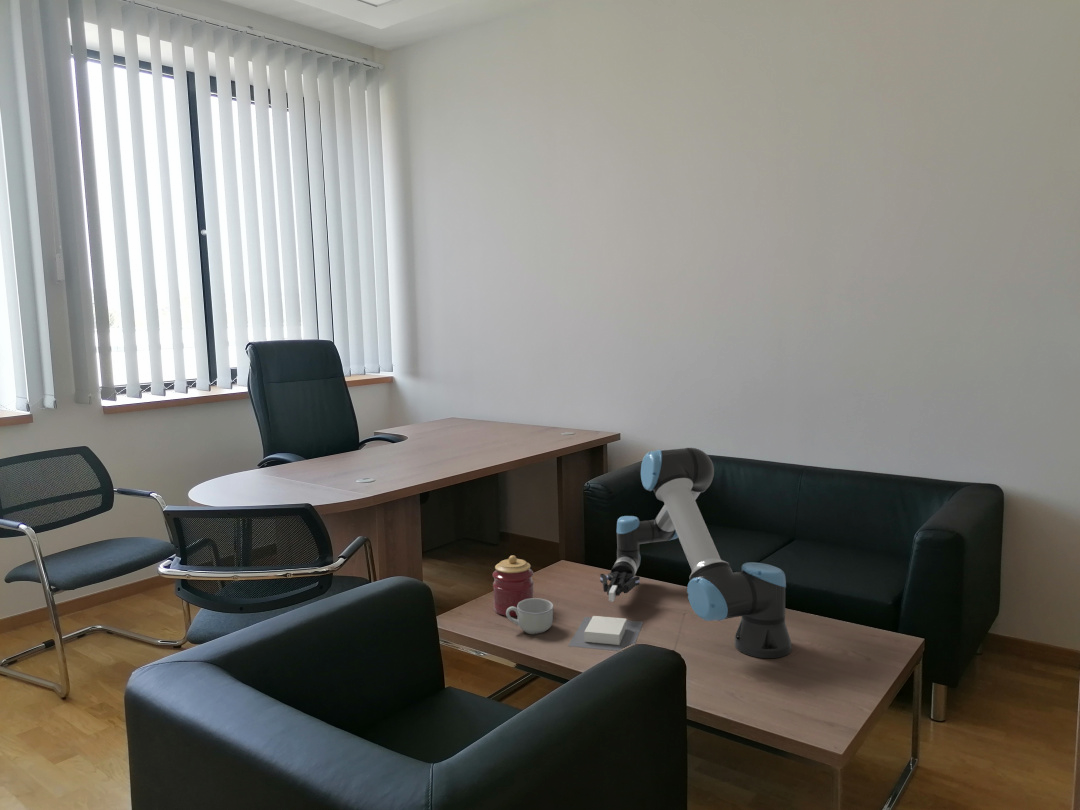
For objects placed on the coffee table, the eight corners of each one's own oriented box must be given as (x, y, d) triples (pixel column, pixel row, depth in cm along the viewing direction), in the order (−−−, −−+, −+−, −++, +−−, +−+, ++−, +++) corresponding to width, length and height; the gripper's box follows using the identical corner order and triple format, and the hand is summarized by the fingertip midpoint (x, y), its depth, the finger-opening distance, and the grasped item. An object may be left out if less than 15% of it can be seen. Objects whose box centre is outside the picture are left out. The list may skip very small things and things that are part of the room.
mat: (585, 618, 243) (585, 616, 243) (643, 623, 238) (643, 621, 238) (568, 647, 222) (568, 645, 222) (631, 653, 217) (631, 652, 217)
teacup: (555, 623, 239) (554, 598, 238) (552, 638, 229) (551, 611, 228) (509, 622, 241) (508, 597, 240) (504, 637, 230) (503, 610, 229)
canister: (525, 619, 243) (523, 563, 241) (486, 614, 248) (485, 559, 246) (540, 604, 255) (539, 551, 253) (503, 600, 260) (502, 547, 258)
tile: (593, 615, 235) (584, 631, 224) (626, 618, 232) (619, 634, 221) (593, 626, 235) (584, 642, 224) (626, 629, 233) (619, 645, 221)
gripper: (643, 584, 259) (632, 610, 236) (604, 581, 262) (590, 607, 239) (643, 561, 258) (632, 586, 235) (603, 559, 261) (589, 583, 239)
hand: (611, 596), depth 237 cm, fingers closed
